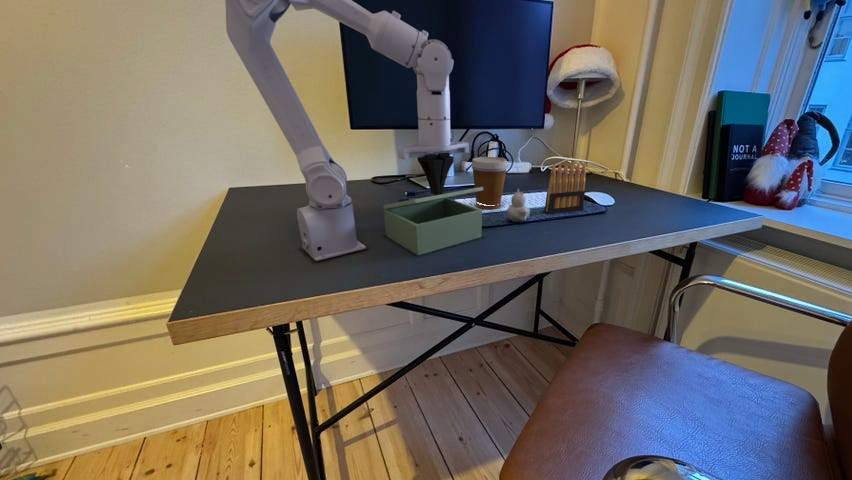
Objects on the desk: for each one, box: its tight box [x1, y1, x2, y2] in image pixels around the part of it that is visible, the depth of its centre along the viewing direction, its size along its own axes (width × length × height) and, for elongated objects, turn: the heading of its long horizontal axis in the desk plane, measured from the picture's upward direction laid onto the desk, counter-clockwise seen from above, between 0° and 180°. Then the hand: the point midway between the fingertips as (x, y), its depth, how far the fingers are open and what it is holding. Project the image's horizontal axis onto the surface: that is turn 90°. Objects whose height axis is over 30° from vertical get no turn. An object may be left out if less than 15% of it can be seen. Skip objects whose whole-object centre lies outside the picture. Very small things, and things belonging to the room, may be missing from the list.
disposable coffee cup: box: [470, 156, 509, 210], centre depth 95 cm, size 10×10×12 cm
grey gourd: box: [506, 187, 531, 223], centre depth 85 cm, size 5×7×8 cm
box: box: [383, 197, 483, 256], centre depth 76 cm, size 13×16×6 cm
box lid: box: [382, 187, 483, 210], centre depth 73 cm, size 13×16×1 cm
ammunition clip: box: [544, 162, 587, 215], centre depth 93 cm, size 11×2×12 cm, turn 112°
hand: (436, 193), depth 72 cm, fingers closed
